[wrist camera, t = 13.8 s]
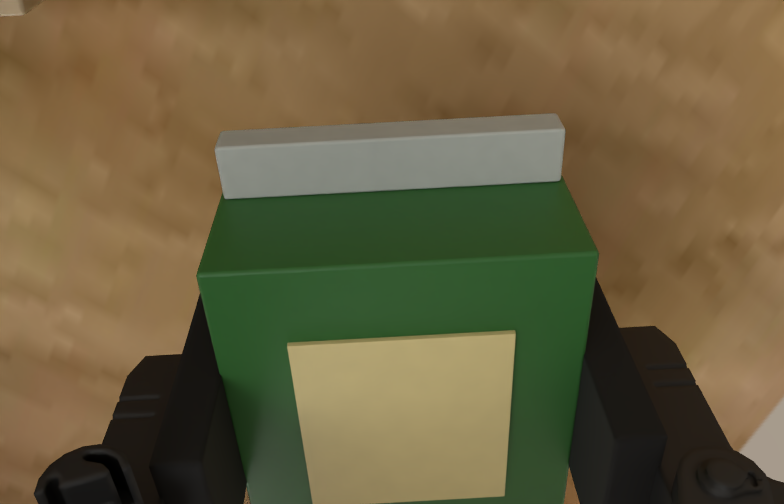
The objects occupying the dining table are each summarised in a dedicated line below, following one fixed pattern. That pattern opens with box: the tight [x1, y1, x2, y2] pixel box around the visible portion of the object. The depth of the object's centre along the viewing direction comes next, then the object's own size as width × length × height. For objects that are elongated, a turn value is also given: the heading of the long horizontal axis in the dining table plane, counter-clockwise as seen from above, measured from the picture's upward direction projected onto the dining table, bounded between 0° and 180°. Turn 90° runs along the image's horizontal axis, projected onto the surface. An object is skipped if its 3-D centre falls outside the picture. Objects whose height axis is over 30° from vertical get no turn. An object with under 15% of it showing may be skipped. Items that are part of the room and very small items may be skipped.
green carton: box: [196, 113, 599, 504], centre depth 15 cm, size 9×6×5 cm
